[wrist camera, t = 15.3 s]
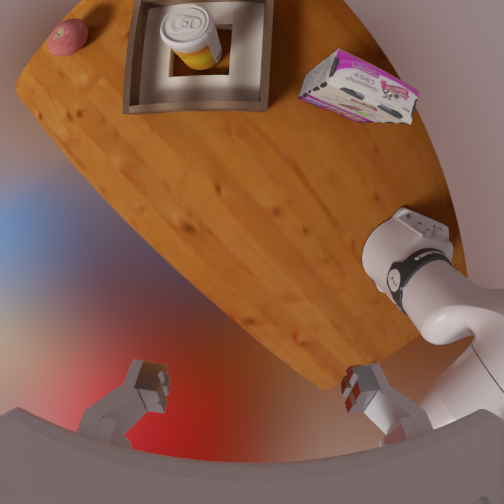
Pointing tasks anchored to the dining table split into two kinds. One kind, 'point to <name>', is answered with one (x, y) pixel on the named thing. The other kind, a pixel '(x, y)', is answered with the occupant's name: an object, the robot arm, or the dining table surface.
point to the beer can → (192, 36)
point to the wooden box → (202, 86)
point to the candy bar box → (359, 90)
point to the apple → (68, 37)
